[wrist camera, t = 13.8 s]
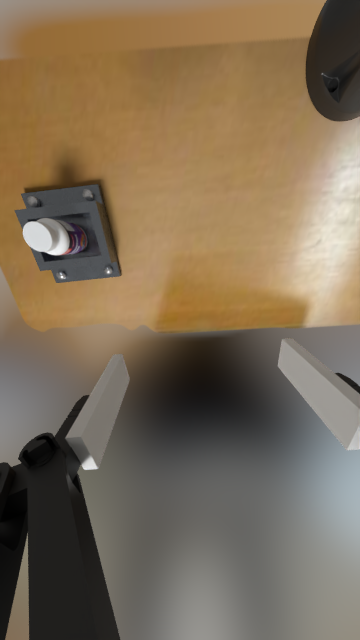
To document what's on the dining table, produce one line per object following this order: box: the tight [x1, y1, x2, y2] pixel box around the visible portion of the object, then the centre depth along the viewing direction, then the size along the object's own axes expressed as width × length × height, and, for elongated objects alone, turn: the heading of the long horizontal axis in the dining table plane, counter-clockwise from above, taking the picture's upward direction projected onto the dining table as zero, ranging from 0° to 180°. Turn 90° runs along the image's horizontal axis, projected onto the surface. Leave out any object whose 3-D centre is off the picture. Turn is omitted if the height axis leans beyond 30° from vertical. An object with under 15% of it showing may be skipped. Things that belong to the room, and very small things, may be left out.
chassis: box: [15, 184, 121, 283], centre depth 32 cm, size 16×14×4 cm
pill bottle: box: [23, 218, 88, 255], centre depth 29 cm, size 5×5×10 cm
